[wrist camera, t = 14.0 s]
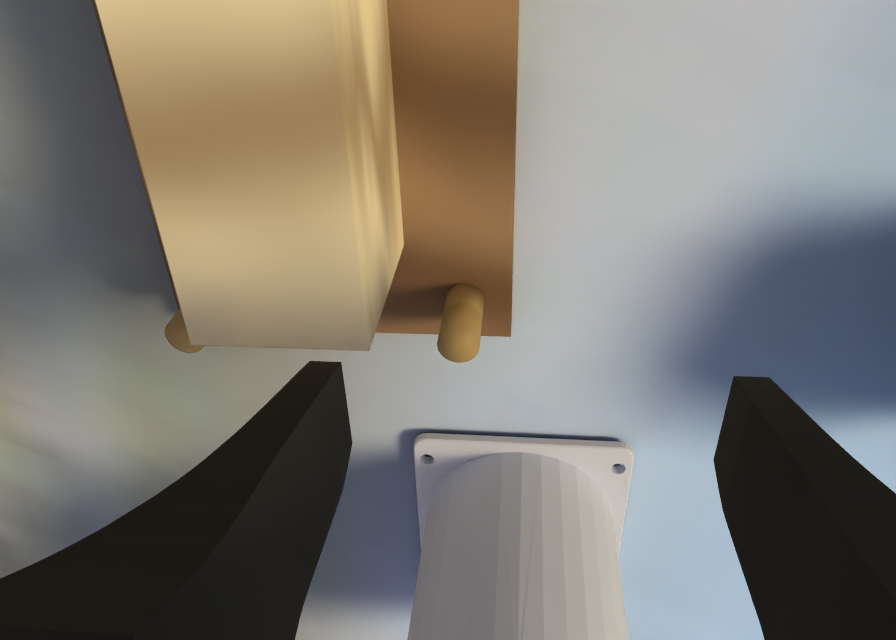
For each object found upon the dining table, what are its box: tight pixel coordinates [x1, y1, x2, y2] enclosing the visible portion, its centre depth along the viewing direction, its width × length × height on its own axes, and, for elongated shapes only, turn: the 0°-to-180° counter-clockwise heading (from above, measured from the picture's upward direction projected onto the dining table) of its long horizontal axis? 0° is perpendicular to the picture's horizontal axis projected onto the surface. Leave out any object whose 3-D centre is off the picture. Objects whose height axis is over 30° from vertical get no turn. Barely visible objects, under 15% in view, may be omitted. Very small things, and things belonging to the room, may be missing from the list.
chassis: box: [92, 0, 519, 362], centre depth 18 cm, size 16×11×3 cm
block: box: [95, 0, 404, 351], centre depth 17 cm, size 10×4×6 cm, turn 2°
